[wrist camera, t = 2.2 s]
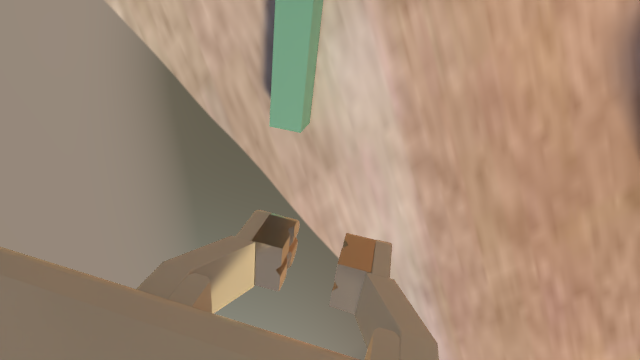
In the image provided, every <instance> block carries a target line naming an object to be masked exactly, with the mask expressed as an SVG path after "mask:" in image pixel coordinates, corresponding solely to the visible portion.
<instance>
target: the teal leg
mask: <svg viewBox="0 0 640 360" xmlns="http://www.w3.org/2000/svg"><path fill="white" fill-rule="evenodd" d="M322 6H323V0H275V18H274V40H273V61H272V83H271V105H270V127H275V128H280V129H285V130H289V131H294V132H299V133H301V132H302V131H303V130H304V129H305V127H306V126H307V125H308V124H309V123H310V114H311V105H312V96H313V87H314V78H315V69H316V60H317V51H318V42H319V33H320V24H321V15H322Z"/></svg>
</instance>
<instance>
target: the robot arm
mask: <svg viewBox="0 0 640 360" xmlns="http://www.w3.org/2000/svg"><path fill="white" fill-rule="evenodd" d="M298 231H299V220H296V219H292V218H288V217H285V216H281V215H277V214H273V213H270V212H266V211H262V210H256V211H255V212H254V213H253V215H252V216H251V217H250V219H249V220H248V221H247V222H246V224H245V225H244V226H243V227H242V229H241V230H240V231H239V233H238V234H237V235H236V236H229V237H227V238H224V239H222V240H219V241H216V242H214V243H211V244H209V245H206V246H203V247H201V248H198V249H196V250H193V251H190V252H188V253H185V254H182V255H180V256H177V257H175V258H172V259H170V260H167V261H164V262H163V263H162V264H161V265H160V266H159V267H158V268H157V269H156V270H155V271H154V272H153V273H152V274H151V275H150V276H149V277H148V278H147V279H146V280H145V281H144V282H143V283H142V284H141V285H140V286H139V287H138V288H137V289H133V288H130V287H127V286H124V285H121V284H117V283H114V282H111V281H108V280H104V279H102V278H98V277H95V276H92V275H89V274H86V273H82V272H79V271H76V270H73V269H69V268H67V267H63V266H60V265H57V264H54V263H50V262H47V261H44V260H41V259H38V258H35V257H32V256H28V255H25V254H22V253H19V252H15V251H12V250H9V249H6V248H3V247H0V360H359V359H356V358H353V357H350V356H346V355H344V354H340V353H337V352H334V351H331V350H328V349H324V348H321V347H318V346H315V345H312V344H308V343H305V342H302V341H299V340H296V339H293V338H289V337H286V336H283V335H280V334H277V333H274V332H270V331H267V330H264V329H261V328H257V327H254V326H251V325H248V324H245V323H242V322H239V321H235V320H232V319H229V318H226V317H222V316H219V315H216V314H213V313H215V312H216V311H218V310H219V309H221V308H222V307H224V306H225V305H227V304H228V303H230V302H231V301H233V300H234V299H236V298H237V297H239V296H240V295H242V294H243V293H245V292H246V291H248V290H249V289H251V288H252V287H254V285H257V286H260V287H264V288H268V289H272V290H275V291H279V290H280V288H281V286H282V284H283V282H284V280H285V278H286V271H287V268H289V267H291V265H292V262H293V260H294V257H295V253H296V249H297V242H298V240H297V239H296V235H297V233H298ZM391 252H392V244H391V243H389V242H385V241H380V240H374V239H370V238H366V237H362V236H358V235H354V234H350V233H346V236H345V239H344V244H343V248H342V250H341V254H340V257H339V261H338V265H337V269H336V275H335V279H334V281H335V282H334V286H333V289H332V294H331V299H330V305H329V306H330V307H334V308H337V309H340V310H343V311H346V312H349V313H352V314H355V318H356V320H357V323H358V326H359V328H360V331H361V333H362V336H363V339H364V341H365V344H366V346H367V349H368V350H367V353H366V356H365V360H439V357H438V345H437V342H436V341H435V339H434V338H433V336H432V335H431V333H430V332H429V330H428V329H427V327H426V326H425V324H424V323H423V321H422V320H421V319H420V317H419V316H418V314H417V313H416V311H415V310H414V308H413V307H412V305H411V304H410V302H409V301H408V299H407V298H406V296H405V295H404V293H403V292H402V290H401V289H400V288H399V286H398V285H397V283H396V282H395V280H394V279H390V266H391Z"/></svg>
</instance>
